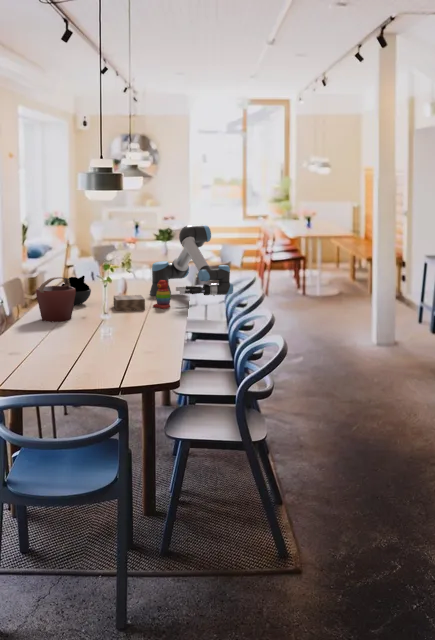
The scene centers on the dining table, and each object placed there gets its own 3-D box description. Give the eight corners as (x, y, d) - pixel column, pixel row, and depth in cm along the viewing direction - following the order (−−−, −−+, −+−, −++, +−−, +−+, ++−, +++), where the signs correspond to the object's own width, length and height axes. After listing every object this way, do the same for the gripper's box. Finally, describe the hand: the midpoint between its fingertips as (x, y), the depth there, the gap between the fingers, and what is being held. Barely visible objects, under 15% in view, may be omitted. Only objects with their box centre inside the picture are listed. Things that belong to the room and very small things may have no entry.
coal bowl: (63, 307, 508) (62, 278, 505) (58, 303, 527) (57, 275, 523) (94, 306, 516) (93, 277, 512) (87, 301, 534) (87, 273, 530)
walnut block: (141, 305, 519) (141, 294, 518) (145, 310, 502) (144, 299, 501) (113, 306, 515) (113, 295, 514) (116, 311, 498) (116, 300, 497)
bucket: (64, 314, 484) (63, 274, 480) (85, 319, 469) (84, 277, 464) (29, 319, 468) (27, 277, 463) (49, 324, 452) (47, 281, 448)
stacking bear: (151, 307, 514) (151, 279, 511) (162, 305, 521) (162, 278, 518) (162, 309, 507) (162, 281, 503) (174, 307, 514) (174, 280, 511)
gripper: (213, 297, 507) (181, 298, 503) (205, 292, 531) (174, 293, 527) (213, 286, 506) (181, 287, 501) (205, 281, 530) (174, 282, 525)
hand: (177, 290), depth 514 cm, fingers open, 13 cm apart
